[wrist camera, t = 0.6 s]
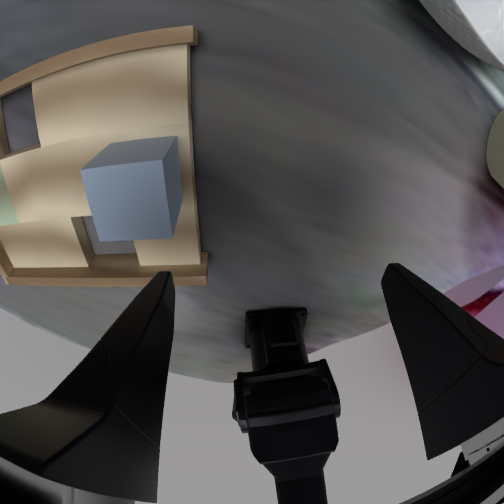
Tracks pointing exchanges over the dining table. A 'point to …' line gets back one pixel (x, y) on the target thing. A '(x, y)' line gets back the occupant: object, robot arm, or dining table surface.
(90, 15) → the dining table surface
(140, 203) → the slate block
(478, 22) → the cereal bowl
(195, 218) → the tray
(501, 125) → the reusable coffee cup
